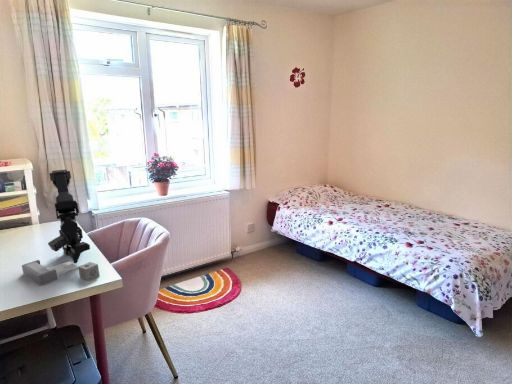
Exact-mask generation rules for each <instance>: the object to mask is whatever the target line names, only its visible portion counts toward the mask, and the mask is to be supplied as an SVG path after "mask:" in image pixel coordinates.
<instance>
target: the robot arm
mask: <svg viewBox="0 0 512 384" xmlns="http://www.w3.org/2000/svg"><path fill="white" fill-rule="evenodd" d="M48 174H49V180H50V182H52V185H53V187H54V188H56V189H57V196H56V197H55V202H54V208H55V213H56V219H57V220H59V222H60V226H59V227H60V229H58V230H59V231H58V232H59V235H58V236H57V237H55V238H54V239H52V240H50V241H49V242H48V243H47V245H48V246H49V247H50V249H51V251H54V252H58V251H59V250H61V249H62V251H63V254H65V255H67V256H69V257H70V259H71V261H72V263H73V264H78V261H79V259H80V256H81V253H84V252H85V251H89V250H91V245H90V243H87V242H85V241H82V239H83V238H84V237H83V235H84V234H83V229H82V228H81V227H80V226H79V225H78V222H77V219H76V216H78V217H79V213H80V209H79V203H78V201H76V200H74V197H73V194H72V193H70V192H69V186H70V184H71V179H72V174H71V170H67V169H57V170H55V169H54V170H52V172H49V173H48Z"/></svg>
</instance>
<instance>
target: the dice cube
mask: <svg viewBox="0 0 512 384" xmlns="http://www.w3.org/2000/svg"><path fill="white" fill-rule="evenodd" d="M77 269H78V274H79V279H81V280H83V281H86V282H89V281H92V280H94V279H96V278H98V277H100V272H99V270H100V269H99V265H98V263H94V262H91V261H89V262H86V263H84V264H82V265H79V266H77Z"/></svg>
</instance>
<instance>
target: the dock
mask: <svg viewBox="0 0 512 384" xmlns="http://www.w3.org/2000/svg"><path fill="white" fill-rule="evenodd" d="M21 269H22V273H23V275H24V276H25V277H27V278H28V279H30V280H31V281H32V282H33V283H35V284H36V285H38V286H40V287H41V286H43V285H46V284H50V283H53V282H55V281H58V275H57V273H56V270H55V269H54V270H51V271H50V270H48V269H47V267H45V266H43V265H41V261H40V259H37V260H34V261H31V262H28V263H24V264H22V265H21Z"/></svg>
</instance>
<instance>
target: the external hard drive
mask: <svg viewBox="0 0 512 384" xmlns="http://www.w3.org/2000/svg"><path fill="white" fill-rule="evenodd" d="M46 268H47V267H46ZM47 269H48V270H50V271H51V270H54V269H55V270H56V273H57V276H58V275H62V274H64V273H67V272H70V271H72V270H75V269H78V266H77V265H76V264H75V263H74V262H70V261H65V262H63V263H60V264H56V265H54V266H51V267H48V268H47Z"/></svg>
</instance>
